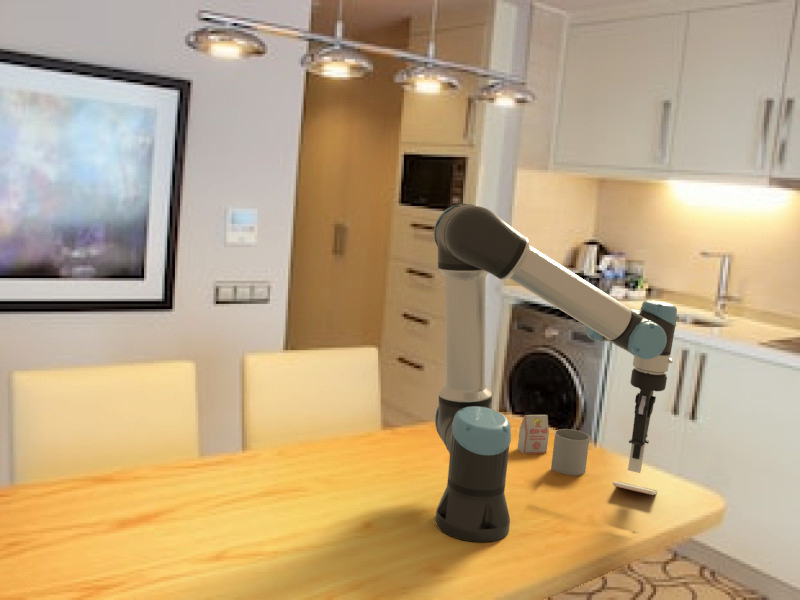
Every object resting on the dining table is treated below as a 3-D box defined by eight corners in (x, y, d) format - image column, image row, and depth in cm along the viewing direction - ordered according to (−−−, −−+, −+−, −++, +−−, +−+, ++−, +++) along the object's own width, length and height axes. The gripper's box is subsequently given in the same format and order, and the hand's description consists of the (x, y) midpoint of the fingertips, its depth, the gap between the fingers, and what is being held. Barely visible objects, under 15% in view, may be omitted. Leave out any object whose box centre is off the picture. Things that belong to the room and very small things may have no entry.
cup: (575, 482, 182) (580, 442, 180) (545, 472, 186) (549, 433, 185) (590, 473, 188) (594, 435, 187) (559, 464, 193) (564, 426, 192)
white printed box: (517, 448, 202) (521, 413, 200) (540, 448, 204) (544, 412, 202) (523, 453, 199) (527, 417, 197) (546, 453, 200) (550, 417, 199)
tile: (612, 481, 171) (612, 485, 171) (653, 491, 167) (653, 495, 167) (618, 481, 181) (617, 485, 180) (657, 490, 177) (656, 494, 177)
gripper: (664, 379, 160) (647, 483, 164) (670, 368, 172) (654, 466, 175) (628, 372, 163) (612, 475, 167) (637, 362, 175) (622, 458, 179)
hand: (634, 470), depth 171 cm, fingers closed
